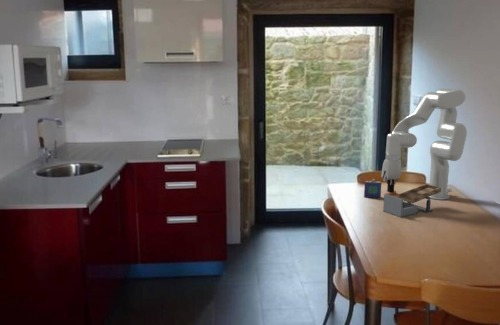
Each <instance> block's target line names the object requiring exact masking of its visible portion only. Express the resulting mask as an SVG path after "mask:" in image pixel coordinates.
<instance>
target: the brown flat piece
mask: <svg viewBox="0 0 500 325" xmlns="http://www.w3.org/2000/svg"><path fill="white" fill-rule="evenodd" d="M439 192H441V188H440V187H436V186H433V185H429V184H428V183H424V184H422V185H419V186H416V187H415V188H414V187H413V188H412V189H408V190H406V191H404V192H400V193H398V192H397V191H396V190H395V189H394V192H388V191H387V190H386V192H385V193H384V194H387V195H390V196H393V197H396V198H400V199H403V202H406V203H407V202H410V203H411V204H416V203H417V202H419V201H422V200H424V199H425V200H432V198H430V196H432V195H434V194H437V193H439Z"/></svg>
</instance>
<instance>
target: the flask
mask: <svg viewBox="0 0 500 325" xmlns="http://www.w3.org/2000/svg"><path fill="white" fill-rule="evenodd" d="M375 179H376V178H372V179H371V180H365V181H364V192H363V197H364V198H366V199H380V198H382V181H375Z"/></svg>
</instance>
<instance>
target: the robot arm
mask: <svg viewBox="0 0 500 325" xmlns="http://www.w3.org/2000/svg"><path fill="white" fill-rule="evenodd" d="M465 100H466V93H465V91H463V90H461V89H456V88H438V89H436V91H434V92H433V91H428V92H426V93H425V94H424V95H423V96H422V98H421V99H420V101H419V102H418V104H417V106H416V107H415V108H414V110H413V112H412V113H410V114H409V115H408V116H406V117H405V118H403V119H401V120H400V121H399V122H398V123H397V124H396V125H395V127H394V128H393V130H392V132H391V133H388V134H387V135H386V146H385V159H384V160H383V163H382V168H381V178H382V181H383V182H385V183H386V184H387V187H386V188H387V189H386V191H388V192H394V190H395V185H396V182H397V181H400V178H401V175H402V160H401V157H402V148H413V147H415V146H416V144H417V141H418V138H417V136H416V135H415V134H414V133H410V132H407V131H409V130H410V129H412V128H413V127H416V126H420V125H423V124H426V123H427V121H428V120H429V119H430V117H431V115H432V114H433V112H434V111H435V109H437V110H440V114H439V115H440V116H439V120H438V124H437V129H436V135H437V137H439V138H440V139H444V140H449V141H444V140H435V141H434V142H432V143H431V145H430V148H429V154H430V172H429V173H430V174H429V182H428V183H429V185H433V186H436V187H440V188H441V192H439V193H437V194H434V195H432V196H430V198H431V200H438V201H440V200H442V201H443V200H449V199H450V197H451V196H450V195H449V193H451V192H452V191H453V189H452V188H448V185H449V172H450V164H449V161H451V162H457V161H458V160H460V159H461V157H463V156H462V155H463V152H464V149H465V145H466V144H465V143H466V140H467V135H468V134H467V133H468V132H467V128H466V126H465V124H463V123H459V122H457V118H458V110H457V107H459V106H462V105H463V104H464V102H465Z"/></svg>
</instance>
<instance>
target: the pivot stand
mask: <svg viewBox="0 0 500 325" xmlns="http://www.w3.org/2000/svg"><path fill="white" fill-rule="evenodd" d="M431 202H432V199H430V200H428V199H426V206H425V207H423V206H421V205H417V204H415V203H410V202H407V201H406V203H409V204H412V205H416V206H418V207H417V211H420V212H423V213H427V214H428V213H432V212H433V209H431V205H432V204H431Z"/></svg>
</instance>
